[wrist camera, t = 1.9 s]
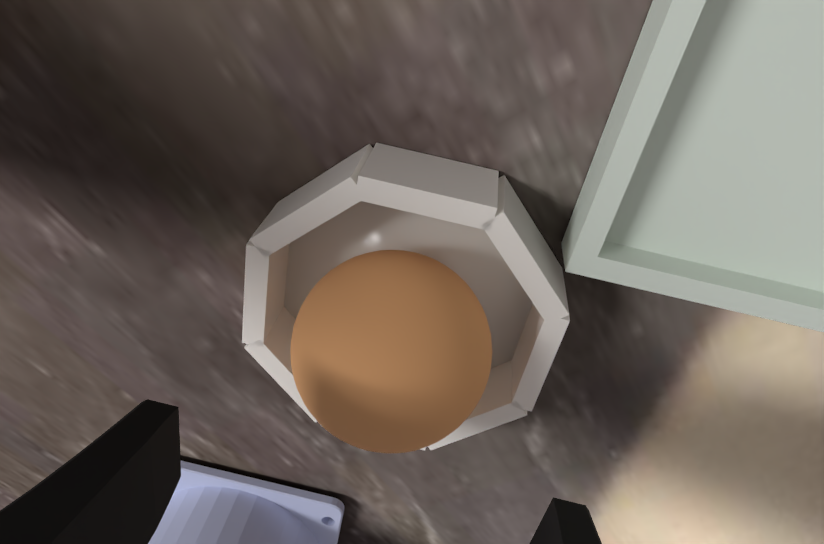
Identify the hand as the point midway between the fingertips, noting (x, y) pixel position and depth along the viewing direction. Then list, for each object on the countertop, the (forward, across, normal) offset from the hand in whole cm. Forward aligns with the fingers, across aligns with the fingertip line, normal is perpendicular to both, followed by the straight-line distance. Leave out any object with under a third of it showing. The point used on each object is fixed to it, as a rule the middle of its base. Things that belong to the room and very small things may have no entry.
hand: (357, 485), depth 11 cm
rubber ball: (+7, 0, 0) cm, 7 cm away
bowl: (+7, 0, 0) cm, 7 cm away
